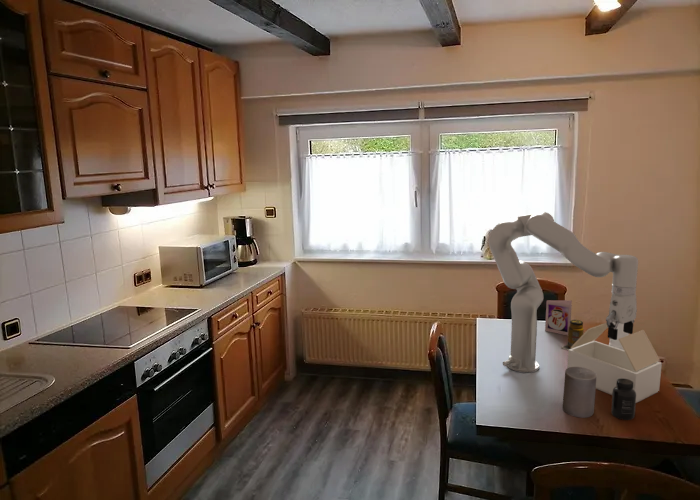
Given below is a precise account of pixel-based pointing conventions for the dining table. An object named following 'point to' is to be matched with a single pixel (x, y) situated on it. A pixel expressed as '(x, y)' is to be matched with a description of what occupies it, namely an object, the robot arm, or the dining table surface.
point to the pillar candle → (579, 392)
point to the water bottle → (618, 337)
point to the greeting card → (558, 316)
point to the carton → (615, 368)
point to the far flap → (590, 335)
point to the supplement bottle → (623, 400)
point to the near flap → (639, 350)
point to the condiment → (574, 333)
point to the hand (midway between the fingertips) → (620, 335)
